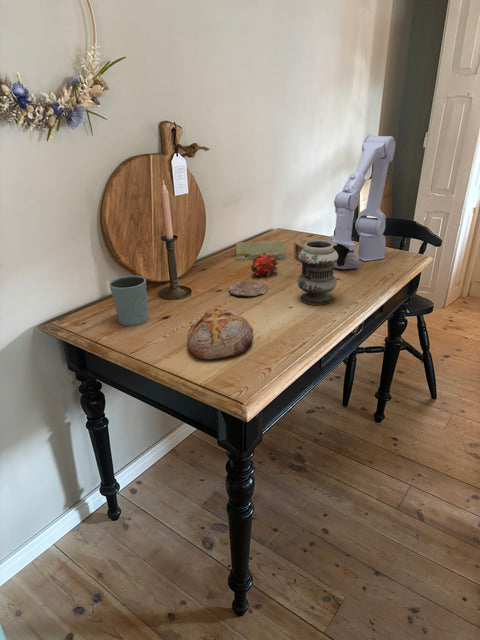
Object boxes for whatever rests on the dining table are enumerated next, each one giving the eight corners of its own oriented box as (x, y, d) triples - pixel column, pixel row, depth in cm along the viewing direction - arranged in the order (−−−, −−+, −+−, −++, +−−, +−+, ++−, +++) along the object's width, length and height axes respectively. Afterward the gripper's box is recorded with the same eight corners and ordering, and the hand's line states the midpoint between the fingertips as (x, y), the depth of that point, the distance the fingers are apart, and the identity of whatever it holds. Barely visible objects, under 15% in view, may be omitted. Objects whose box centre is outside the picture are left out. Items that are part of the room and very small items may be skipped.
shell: (266, 299, 150) (266, 289, 148) (226, 299, 151) (226, 288, 149) (267, 286, 160) (267, 276, 158) (230, 286, 161) (230, 276, 160)
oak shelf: (338, 251, 191) (339, 235, 188) (354, 259, 181) (355, 243, 179) (293, 257, 186) (294, 241, 183) (306, 266, 176) (307, 249, 173)
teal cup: (155, 321, 136) (150, 282, 131) (121, 330, 132) (115, 290, 127) (143, 309, 144) (138, 272, 139) (111, 317, 140) (104, 279, 135)
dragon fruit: (277, 274, 174) (255, 288, 167) (262, 258, 176) (240, 271, 169) (286, 260, 167) (264, 273, 160) (270, 243, 169) (247, 256, 162)
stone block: (333, 273, 170) (361, 268, 170) (332, 261, 169) (359, 255, 168) (327, 265, 182) (352, 260, 181) (325, 253, 180) (351, 248, 179)
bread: (175, 360, 118) (169, 323, 114) (211, 327, 134) (207, 294, 130) (234, 368, 112) (229, 330, 108) (264, 333, 128) (262, 298, 124)
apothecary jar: (314, 310, 140) (316, 251, 133) (289, 297, 149) (289, 242, 142) (344, 300, 146) (347, 243, 138) (317, 289, 155) (320, 235, 148)
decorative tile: (236, 248, 201) (236, 240, 199) (283, 247, 200) (283, 239, 199) (234, 262, 184) (234, 254, 183) (286, 261, 183) (286, 253, 182)
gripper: (323, 224, 169) (320, 261, 174) (344, 232, 156) (340, 272, 162) (340, 223, 171) (337, 259, 176) (362, 231, 158) (358, 270, 164)
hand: (340, 265), depth 169 cm, fingers closed, pressing on stone block
